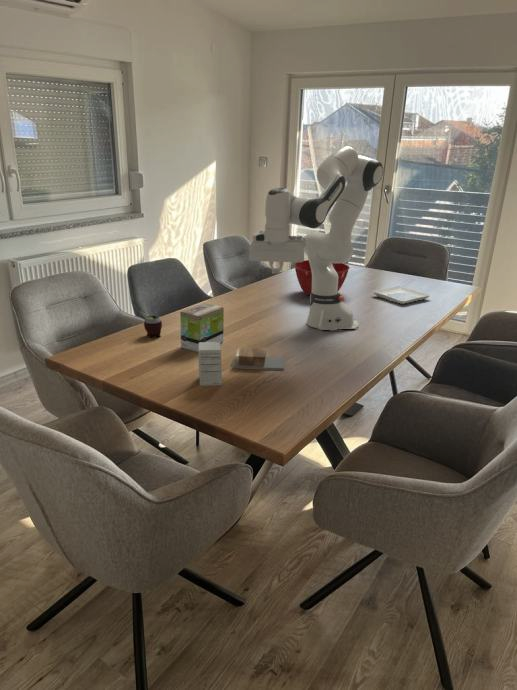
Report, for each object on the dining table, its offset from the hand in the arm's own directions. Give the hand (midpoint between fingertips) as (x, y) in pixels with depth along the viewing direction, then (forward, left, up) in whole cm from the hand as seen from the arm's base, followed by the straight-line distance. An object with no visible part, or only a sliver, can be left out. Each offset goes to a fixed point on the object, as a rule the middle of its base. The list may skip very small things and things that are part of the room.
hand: (276, 273), depth 195 cm
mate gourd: (+49, -8, -29) cm, 58 cm away
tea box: (+28, 0, -29) cm, 41 cm away
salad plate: (-62, -75, -30) cm, 102 cm away
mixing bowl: (-21, -78, -29) cm, 86 cm away
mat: (+5, +17, -29) cm, 34 cm away
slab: (+3, +17, -27) cm, 32 cm away
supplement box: (+20, +33, -29) cm, 48 cm away
